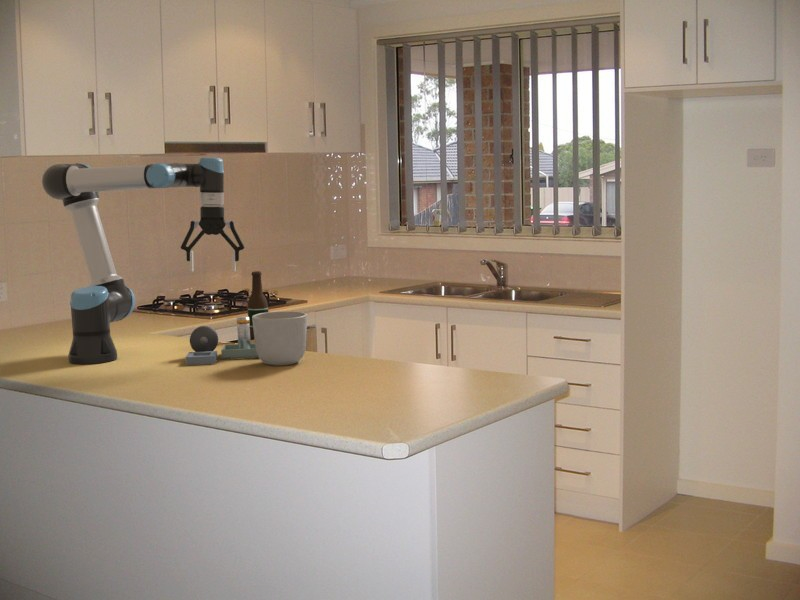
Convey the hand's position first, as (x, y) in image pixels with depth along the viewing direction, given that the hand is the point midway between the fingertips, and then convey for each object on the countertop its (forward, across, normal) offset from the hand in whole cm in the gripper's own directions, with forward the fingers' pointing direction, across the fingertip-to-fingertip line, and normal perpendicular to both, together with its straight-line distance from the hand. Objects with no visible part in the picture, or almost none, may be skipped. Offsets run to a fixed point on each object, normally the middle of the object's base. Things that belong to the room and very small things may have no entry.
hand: (213, 271), depth 329 cm
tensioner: (+28, -3, -8) cm, 29 cm away
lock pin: (+27, +10, -4) cm, 29 cm away
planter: (+27, +22, -19) cm, 40 cm away
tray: (+27, +10, -4) cm, 29 cm away
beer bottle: (+28, +13, +31) cm, 44 cm away
